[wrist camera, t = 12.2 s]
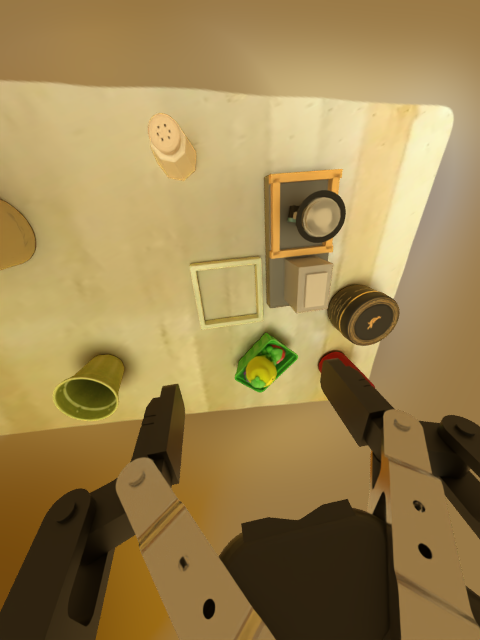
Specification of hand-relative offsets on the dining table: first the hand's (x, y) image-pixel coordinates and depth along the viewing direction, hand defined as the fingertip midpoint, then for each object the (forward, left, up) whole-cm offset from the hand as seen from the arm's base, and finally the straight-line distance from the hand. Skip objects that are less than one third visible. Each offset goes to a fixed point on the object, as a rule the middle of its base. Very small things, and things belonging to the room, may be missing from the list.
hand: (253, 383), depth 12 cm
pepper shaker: (-4, +15, -28) cm, 32 cm away
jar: (+25, -11, -28) cm, 39 cm away
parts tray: (+1, -5, -28) cm, 29 cm away
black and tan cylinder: (+14, +6, -25) cm, 29 cm away
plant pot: (-24, -17, -28) cm, 41 cm away
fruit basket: (+6, -19, -28) cm, 35 cm away
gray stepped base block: (+13, +2, -28) cm, 31 cm away
